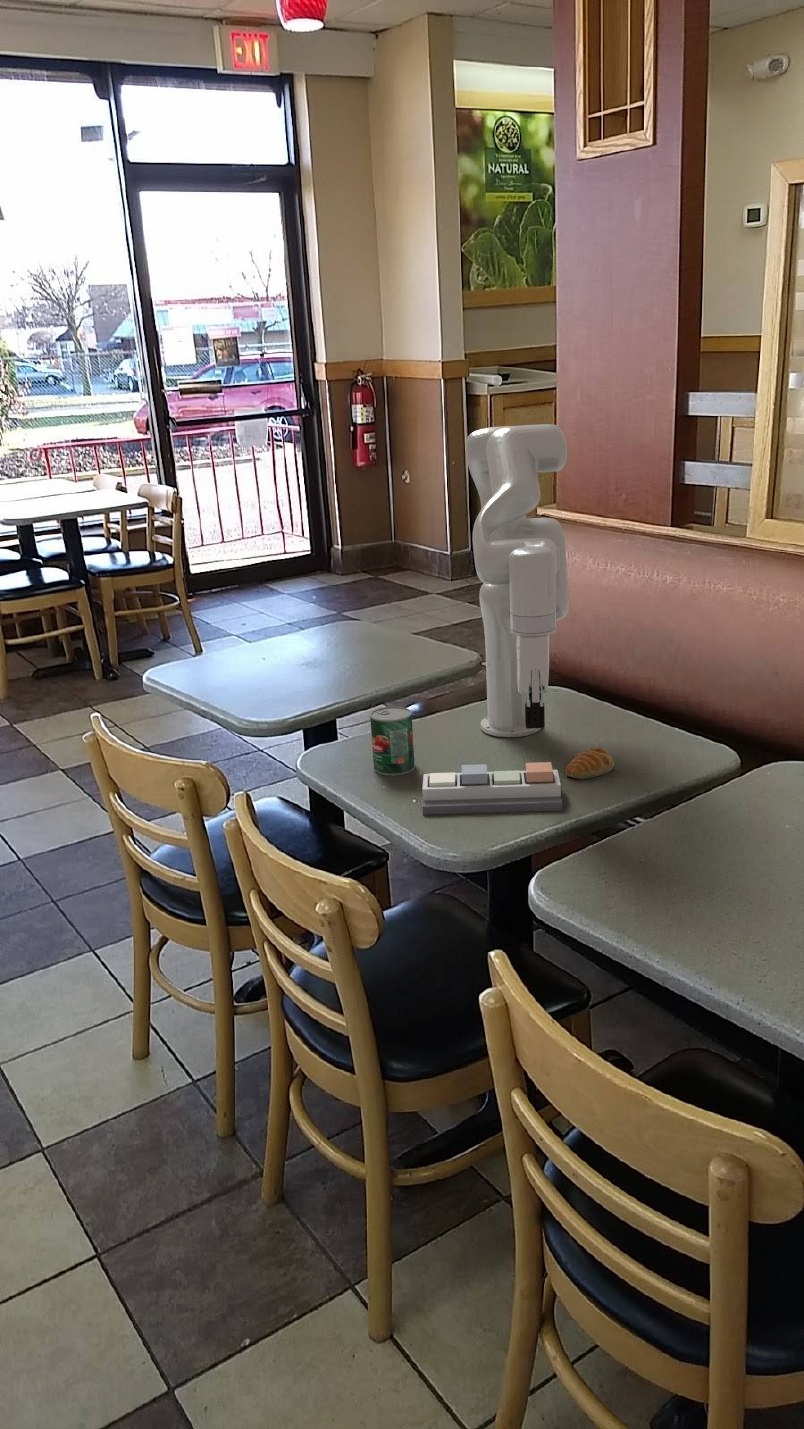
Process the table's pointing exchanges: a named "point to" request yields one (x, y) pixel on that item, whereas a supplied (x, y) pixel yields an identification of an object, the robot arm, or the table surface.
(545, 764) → the terracotta key
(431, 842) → the table surface
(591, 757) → the pastry
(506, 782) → the sage key
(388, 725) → the canned tomato
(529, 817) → the table surface
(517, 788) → the keypad
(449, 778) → the ivory key
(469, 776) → the slate key
